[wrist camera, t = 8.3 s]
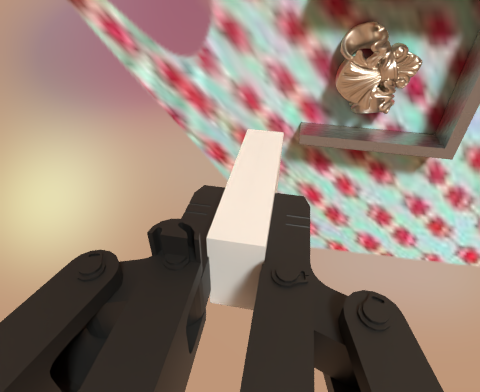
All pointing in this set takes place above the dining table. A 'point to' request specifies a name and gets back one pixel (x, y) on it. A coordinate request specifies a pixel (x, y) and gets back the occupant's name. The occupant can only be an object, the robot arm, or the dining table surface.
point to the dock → (407, 143)
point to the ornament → (373, 69)
